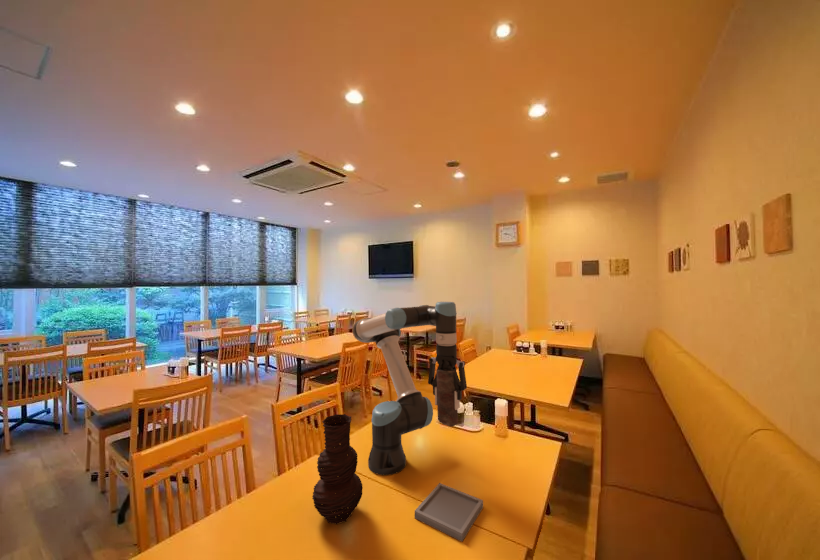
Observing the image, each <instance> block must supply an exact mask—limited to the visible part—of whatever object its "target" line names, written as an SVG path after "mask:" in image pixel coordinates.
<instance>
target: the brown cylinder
mask: <svg viewBox="0 0 820 560" xmlns="http://www.w3.org/2000/svg"><path fill="white" fill-rule="evenodd" d="M435 372H436V373H437V405H436V408H437V421H438V422H439V423H441V424H442V425H444V426H447V427H455V426H456V425H458V423H459V416H458V415H459V414H458V413H459V412H458V411H459V409H457V410H455V392H454V391H456V387H455V384H454V376H453V375H454V374H453V373H456V372H457V370H456V371H455V370H454V371H453V372H452V371H449V370H446V369H443V370H437V369H435ZM436 373H435V374H436Z"/></svg>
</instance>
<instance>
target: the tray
mask: <svg viewBox="0 0 820 560" xmlns="http://www.w3.org/2000/svg"><path fill="white" fill-rule="evenodd" d="M483 508H484V499H481V498H478V497H476V496H473V495H470V494H468V493H466V492H463V491H462V490H458V489H457V488H453V487H451V486H449V485H446V484H443V483H441V482H438V484H437V485H436V486H435V487H434V489H432V490H431V492H430V493H429V494H428V495H427V496H426V498H424V500H423V501H422V502H420V504H419V505H418V506H417V507H416V508H415V510H414V519H416V520H417V521H419V522H422V523H424V524H425V525H428V526H429V527H432V528H434V529H435V530H438V531H439V532H442V533H444V534H446V535H448V536H449V537H452V538H454V539H456V540H458V541H460V542H463V541H464V540H465V538H466V536H467V535H468V533H469V531H470V529H471V528H472V526H473V525H474V523H475V522H476V520H477V519H478V517H479V515H480V513H481V512H482V511H483Z"/></svg>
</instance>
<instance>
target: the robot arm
mask: <svg viewBox="0 0 820 560" xmlns="http://www.w3.org/2000/svg"><path fill="white" fill-rule="evenodd" d="M423 326H424V327H425V326H433V327H435V342H436V345H435V350H436V351H435V353H436V356H435V357H433V356H432V357H431V358H429V359H428V362H429V368H428V369H429V370H428V377H427V378H428V381H427V384H428V385H431V386H432V395H433V396H434V405H435V406H437V373H435V372H436V370H443V369H446V370H449V371H452V372H453V371H454V370H455V371H456V373H453V374H454V375H453V376H454V384H455V387H456V391H454V392H455V410H459V408H461V404H460V403H461V402H460V401H461V400H463V399H462V398H463V396H462V395H463V393H462V392H463V391H465V390H466V389H467V379H466V378H467V377H466V370H465V365H466V361H463V360H459V359H458V357H457V356H458V351H457V349H458V347H457V342H458V341H457V340H458V339H457V307H456V303H455V302H454V301H437V302H436V303H435V305H429V304H424V305H419V306H411V307H410V306H409V307H394V308H389V309H388V310H387V311H386V312H385V313H383V314H379V315H377V316H374V317H367V318H362V319H358V320H357V321H356V322H355V323H354V324H353V326H352V335H353V337H354V338H355V339H356V340H357V341H359V342H361V343H364V344H365V343H368V344H369V343H375V345H376V347H377V348H378V349H380V350H381V352H382V354H383V355H382V356H383V358H384V360H385V364H386V366H387V370H388V373H389V376H390V378H391V381H392V384H393V387H394V391H395V392H396V395H397V398H396V400H390V401H389V400H386V401H382V402H380V403H378V404H377V405H375V406H374V408H373V409H372V414H371V415H372V416H371V434H372V435H371V437H372V440H371V442H372V444H371V448H370V452H369V456H368V458H367V459H368V460H367V466H368V469H369V470H370V471H371V472H372V473H374V474H377V475H380V476H391V475H395V474H398V473H400V472H401V471H403V470H404V469H405V468H406V465H407V457H406V453H405V451H404V447H403V443H402V435H405V434H408V433H412V432H413V431H417V430H422V429H423V428H426V427H427V426H429V425H430V424H431V423H432V421H433V417H434V408H433V407H434V406H433V404H432V402H431V400H430V399H429V398H428V397H427V396H423V394H422V392H421V391H420V390H418V389H417V388H416V386H415V383H414V381H413V378H412V375H411V373H410V370H409V367H408V364H407V362H406V359H405V357H404V355H403V351H402V350H401V349H402V348H401V347H400V344H399V341H400V339H401V338H400V337H401V334H402V331H401V329H406V328H407V329H408V328H412V327H413V328H417V327H423ZM436 363H437V365H438V366H437V369H436ZM456 365H457V366H456ZM457 368H458V372H457Z"/></svg>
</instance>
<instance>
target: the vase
mask: <svg viewBox="0 0 820 560" xmlns="http://www.w3.org/2000/svg"><path fill="white" fill-rule="evenodd" d="M321 422H322V423H323V425H322V426H323V427H324V428H323V430H324V431H323V434H324V441H325V442H324V445H325V446H324V449H323V451H321V452H319V456H318V457H317V461H316V464H317V467H316V468H317V473H318V476H319V480H317V482H316V483H315V485H313V492H312V496H311V497H312V500H313V507H314V509H316V511H317V513H318V514H319V515H320V516H322V517H323V518H324V519H325V520H326V522H327V523H329V524H332V525H338V524H341V523H345V522H347V520H348V519H349V518H350V517H351V516H352V513H354V511H355V509H357V507H358V505H359V503H360V501H361V500H362V497H363V490H364V489H363V483H362V480H361V478H360V476H359V475H358V474H357V473H356V471H357V466H358V452H357V451H356V450H355V449H354V447H353V446H352V445H351V441H350V440H351V438H350V435H351V424H352V423H351V422H352V416H351V415H350V416H349V415H347V414H346V413H344V414H336V413H335V414H333V415H330V416H326V417H325V418H324V419H323V420H322V421H321Z"/></svg>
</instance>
